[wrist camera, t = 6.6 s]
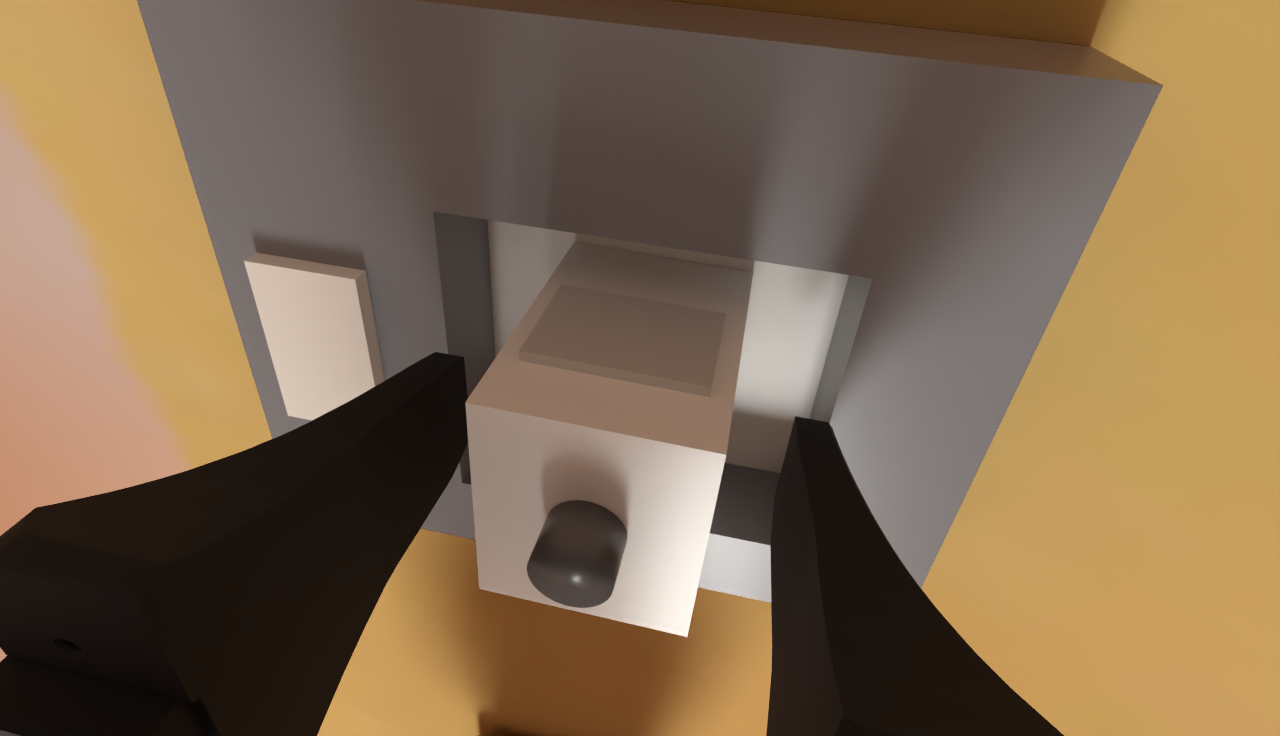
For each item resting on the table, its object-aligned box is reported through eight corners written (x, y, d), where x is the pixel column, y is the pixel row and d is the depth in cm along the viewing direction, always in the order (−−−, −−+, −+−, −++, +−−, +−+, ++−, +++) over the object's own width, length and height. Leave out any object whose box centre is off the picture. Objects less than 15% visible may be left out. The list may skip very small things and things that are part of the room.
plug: (721, 431, 18) (679, 687, 12) (568, 401, 18) (457, 634, 12) (755, 264, 15) (721, 493, 9) (574, 234, 15) (434, 434, 10)
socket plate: (888, 536, 19) (902, 644, 16) (351, 431, 21) (282, 511, 18) (1090, 46, 12) (1175, 92, 9) (246, -46, 14) (107, -31, 11)
